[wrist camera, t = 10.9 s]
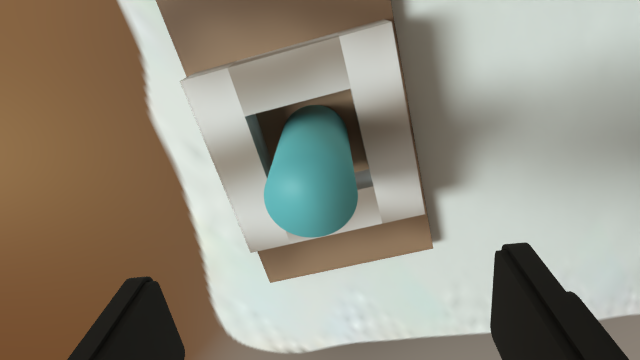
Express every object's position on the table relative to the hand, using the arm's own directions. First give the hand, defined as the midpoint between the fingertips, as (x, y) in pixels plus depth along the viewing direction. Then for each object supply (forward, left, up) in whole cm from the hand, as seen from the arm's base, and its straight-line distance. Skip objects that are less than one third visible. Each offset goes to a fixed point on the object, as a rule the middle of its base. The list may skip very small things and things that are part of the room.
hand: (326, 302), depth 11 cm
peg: (0, 0, -14) cm, 14 cm away
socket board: (0, +1, -15) cm, 15 cm away
